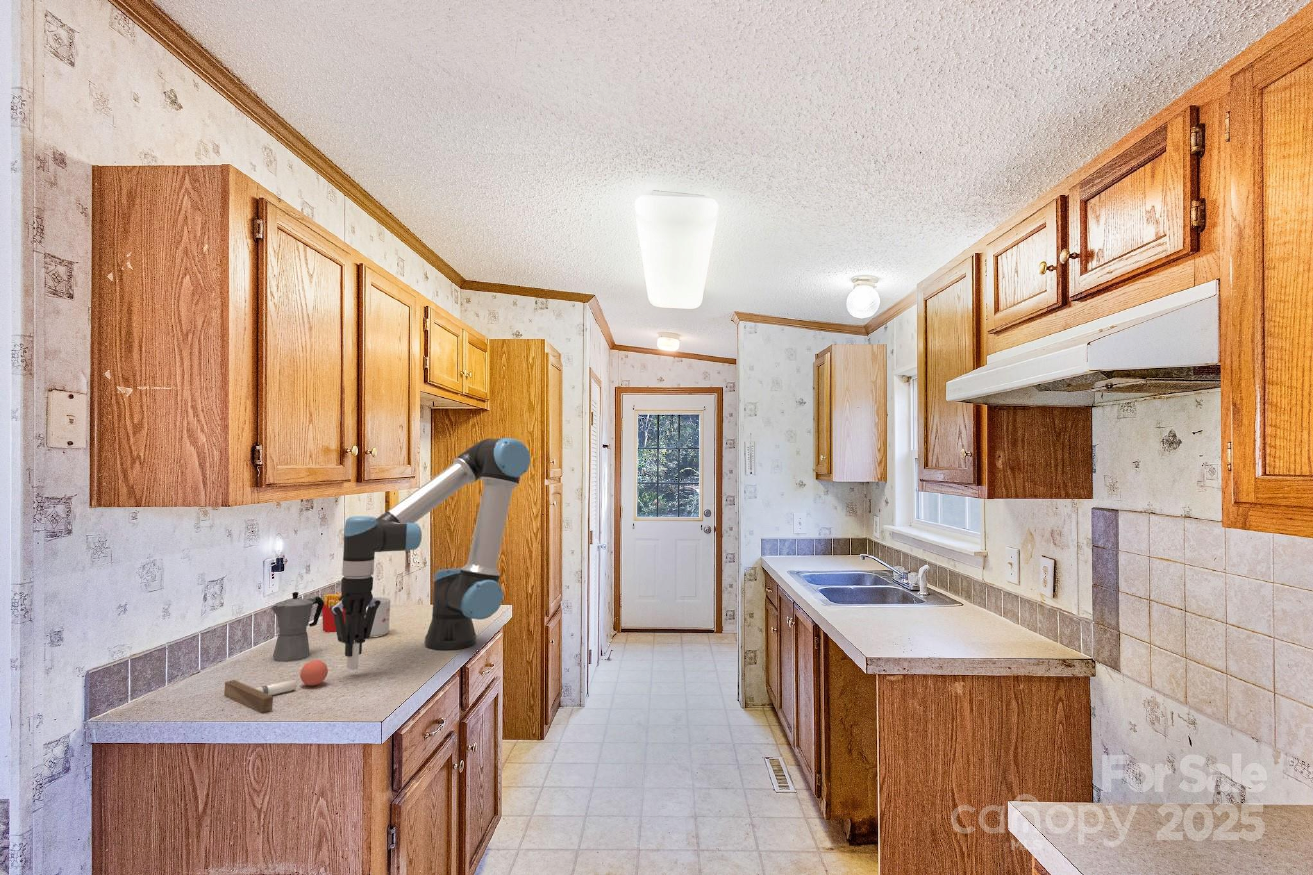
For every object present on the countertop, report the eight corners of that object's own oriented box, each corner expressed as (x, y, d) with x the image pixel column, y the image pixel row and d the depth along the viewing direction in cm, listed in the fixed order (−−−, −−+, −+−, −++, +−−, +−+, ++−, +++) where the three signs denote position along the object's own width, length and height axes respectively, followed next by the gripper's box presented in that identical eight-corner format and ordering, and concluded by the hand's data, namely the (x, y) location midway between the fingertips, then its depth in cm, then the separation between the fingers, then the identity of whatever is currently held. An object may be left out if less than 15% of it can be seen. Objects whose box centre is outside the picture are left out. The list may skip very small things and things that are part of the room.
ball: (290, 676, 157) (308, 688, 161) (302, 680, 154) (321, 691, 157) (307, 653, 161) (324, 665, 164) (319, 656, 157) (337, 669, 161)
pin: (291, 680, 156) (252, 689, 149) (295, 678, 155) (257, 686, 148) (292, 691, 155) (254, 700, 149) (297, 688, 154) (258, 697, 147)
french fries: (318, 632, 208) (321, 594, 209) (324, 629, 212) (326, 592, 213) (345, 632, 209) (347, 595, 209) (350, 629, 213) (352, 593, 213)
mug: (366, 630, 212) (368, 596, 213) (393, 631, 212) (395, 597, 213) (348, 640, 200) (350, 603, 201) (376, 641, 200) (378, 605, 201)
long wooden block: (233, 692, 152) (234, 679, 152) (272, 710, 142) (273, 696, 142) (224, 695, 150) (225, 681, 150) (262, 713, 140) (263, 699, 140)
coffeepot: (278, 665, 173) (282, 597, 174) (257, 659, 178) (262, 593, 179) (330, 652, 187) (334, 589, 188) (310, 647, 191) (314, 585, 192)
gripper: (372, 571, 176) (367, 660, 174) (325, 577, 165) (319, 671, 163) (388, 575, 171) (383, 665, 170) (341, 580, 161) (336, 677, 159)
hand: (352, 668), depth 167 cm, fingers closed
